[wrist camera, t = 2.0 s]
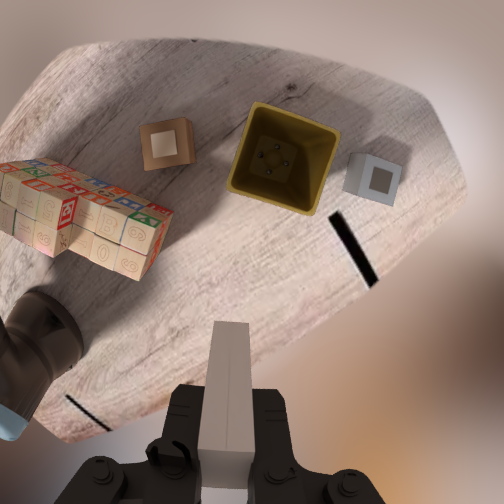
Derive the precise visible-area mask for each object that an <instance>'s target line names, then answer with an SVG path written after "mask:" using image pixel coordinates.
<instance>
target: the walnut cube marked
mask: <svg viewBox="0 0 504 504" xmlns="http://www.w3.org/2000/svg"><path fill="white" fill-rule="evenodd" d="M139 128H140V138H141V146H142V154H143V162H144V169H145V171H149V170H154V169H160V168H165V167H171V166H177V165H183V164H190V163H195V162H196V156H195V147H194V139H193V130H192V122H191V121H189V120H188V119H187V118H185V117H183V118H177V119H172V120H166V121H161V122H156V123H152V124H147V125H142V126H139Z"/></svg>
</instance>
